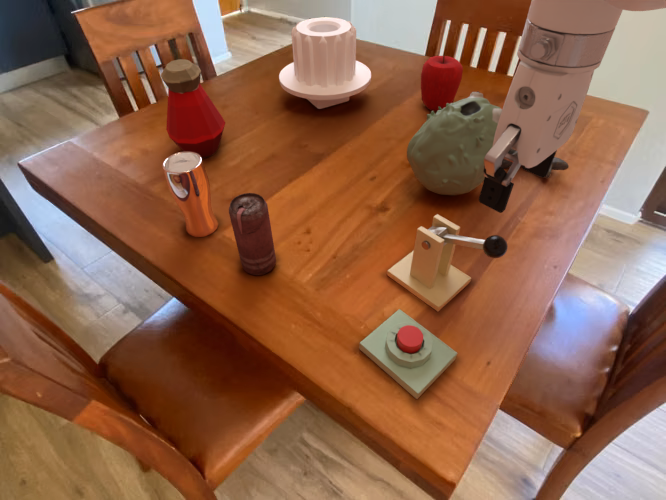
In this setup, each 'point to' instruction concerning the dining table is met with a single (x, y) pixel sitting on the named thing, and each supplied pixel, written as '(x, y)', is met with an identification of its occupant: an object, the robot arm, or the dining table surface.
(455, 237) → the switch lever
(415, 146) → the green rock
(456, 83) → the apple
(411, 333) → the console button
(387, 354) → the grey button base
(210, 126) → the bottle
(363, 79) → the ribbed cylinder on disc
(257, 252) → the can
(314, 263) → the dining table surface
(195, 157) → the beer glass
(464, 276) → the switch bracket
